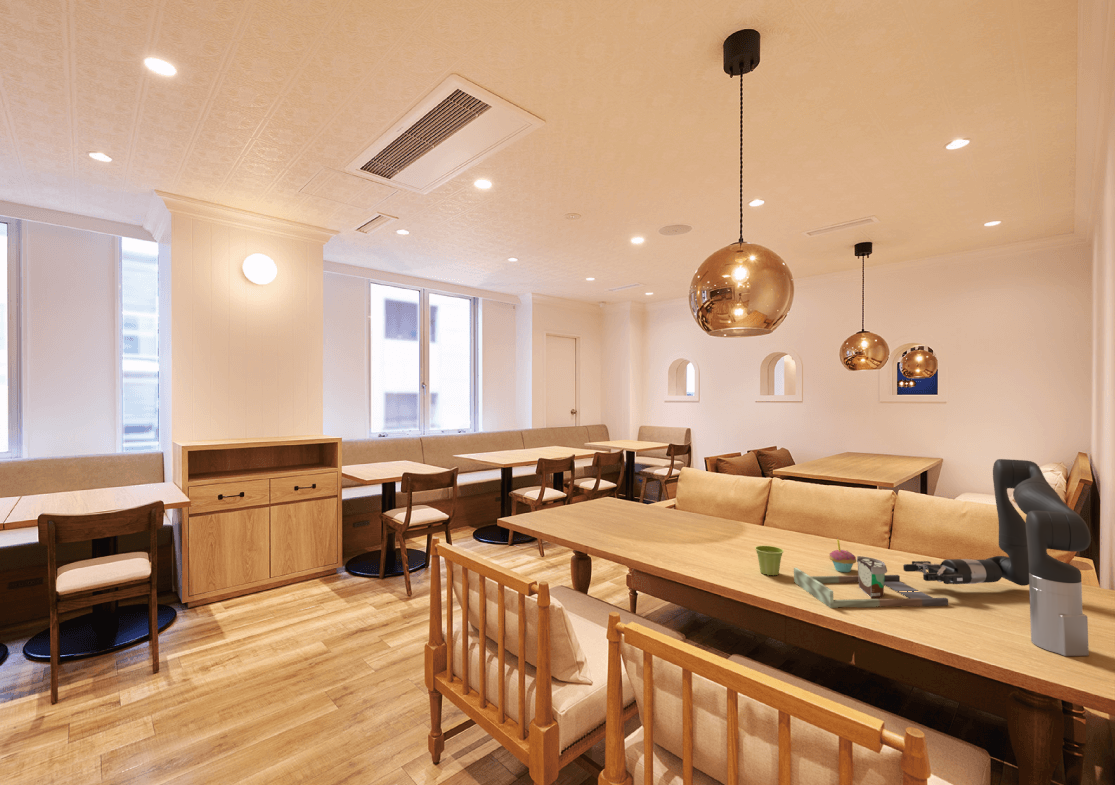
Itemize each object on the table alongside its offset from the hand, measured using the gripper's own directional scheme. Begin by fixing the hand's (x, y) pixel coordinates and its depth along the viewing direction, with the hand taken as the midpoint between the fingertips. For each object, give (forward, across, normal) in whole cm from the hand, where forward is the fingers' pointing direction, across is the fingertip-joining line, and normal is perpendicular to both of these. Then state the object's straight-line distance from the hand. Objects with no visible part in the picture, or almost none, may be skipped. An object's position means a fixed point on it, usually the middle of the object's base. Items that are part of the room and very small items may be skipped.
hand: (913, 572), depth 158 cm
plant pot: (+38, -20, +7) cm, 43 cm away
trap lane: (+16, 0, +6) cm, 17 cm away
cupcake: (+10, -22, +7) cm, 25 cm away
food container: (+13, 0, +6) cm, 14 cm away
